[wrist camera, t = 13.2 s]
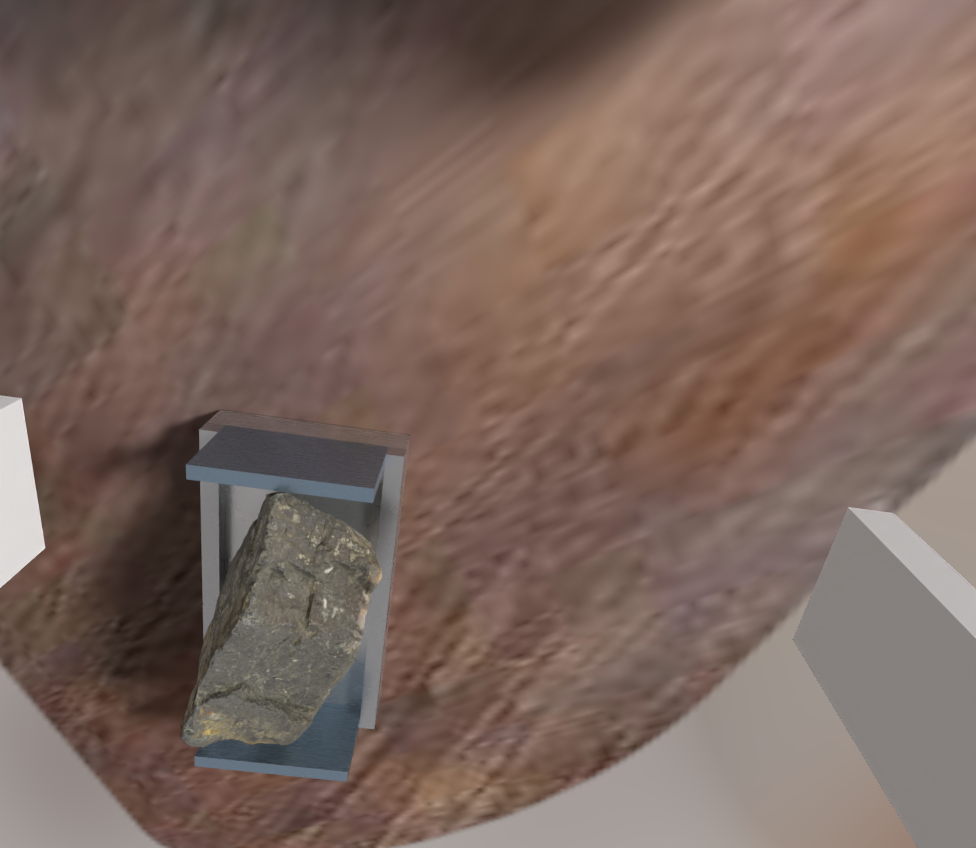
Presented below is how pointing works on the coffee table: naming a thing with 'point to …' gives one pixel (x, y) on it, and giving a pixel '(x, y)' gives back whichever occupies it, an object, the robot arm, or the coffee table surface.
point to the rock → (281, 626)
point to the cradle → (331, 489)
